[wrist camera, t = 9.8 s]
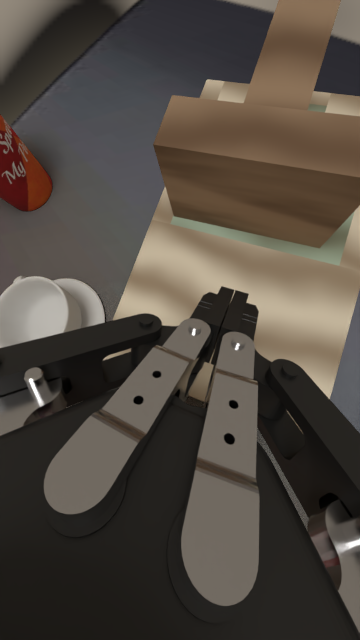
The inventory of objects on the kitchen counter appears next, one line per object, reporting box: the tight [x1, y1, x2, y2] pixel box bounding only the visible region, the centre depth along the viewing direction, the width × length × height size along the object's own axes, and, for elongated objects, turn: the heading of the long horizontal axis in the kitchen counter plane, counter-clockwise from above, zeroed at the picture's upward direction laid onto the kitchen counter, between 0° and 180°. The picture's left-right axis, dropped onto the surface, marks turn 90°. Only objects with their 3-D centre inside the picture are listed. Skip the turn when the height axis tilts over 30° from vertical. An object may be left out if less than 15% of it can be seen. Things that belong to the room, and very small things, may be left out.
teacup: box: [0, 276, 105, 348], centre depth 22 cm, size 10×10×5 cm
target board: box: [103, 80, 360, 432], centre depth 22 cm, size 32×20×1 cm, turn 160°
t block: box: [153, 0, 360, 248], centre depth 19 cm, size 14×14×8 cm
